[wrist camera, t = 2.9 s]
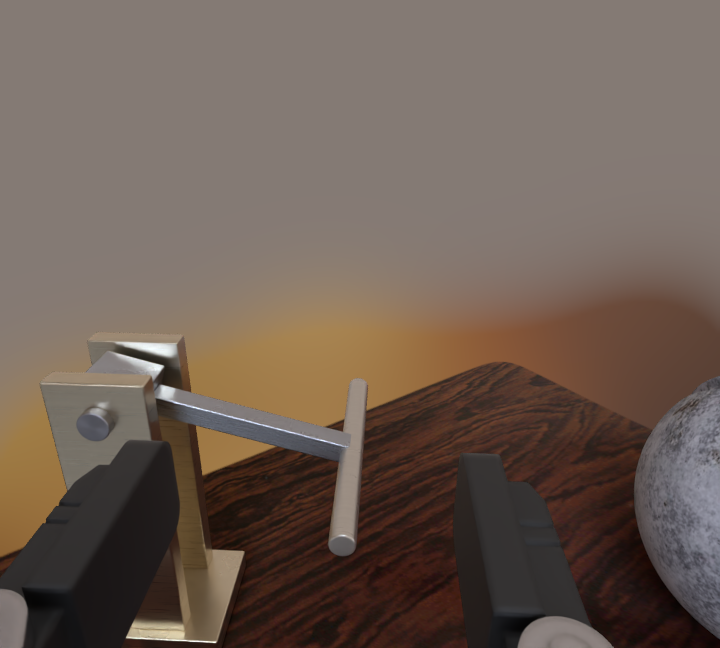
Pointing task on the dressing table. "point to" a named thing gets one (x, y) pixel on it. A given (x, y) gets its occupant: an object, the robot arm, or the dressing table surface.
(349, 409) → the tap lever
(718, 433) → the decorative orb
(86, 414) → the bracket
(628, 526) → the dressing table surface
